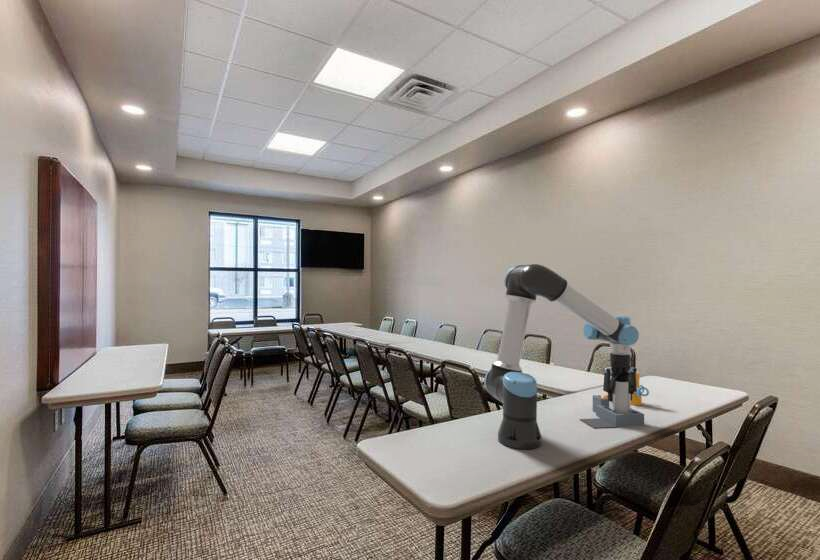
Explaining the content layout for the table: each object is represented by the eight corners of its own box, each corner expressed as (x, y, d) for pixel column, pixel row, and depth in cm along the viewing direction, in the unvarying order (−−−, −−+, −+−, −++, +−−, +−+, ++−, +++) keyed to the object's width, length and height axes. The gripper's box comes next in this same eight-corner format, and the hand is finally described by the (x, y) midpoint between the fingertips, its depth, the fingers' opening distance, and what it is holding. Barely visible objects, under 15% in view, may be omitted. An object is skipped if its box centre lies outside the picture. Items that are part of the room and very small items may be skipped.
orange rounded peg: (603, 412, 174) (603, 396, 174) (599, 410, 177) (599, 394, 177) (611, 412, 174) (611, 396, 174) (606, 410, 178) (606, 394, 178)
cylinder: (651, 408, 183) (651, 375, 184) (626, 406, 185) (627, 374, 186) (641, 400, 195) (641, 370, 195) (618, 399, 197) (618, 369, 198)
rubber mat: (593, 428, 156) (593, 427, 156) (579, 419, 166) (579, 418, 166) (617, 427, 158) (617, 426, 158) (601, 419, 167) (601, 418, 167)
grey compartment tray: (615, 426, 159) (615, 408, 159) (588, 411, 178) (588, 395, 178) (644, 425, 161) (644, 407, 161) (613, 410, 180) (613, 394, 180)
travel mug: (628, 424, 162) (628, 374, 162) (610, 421, 165) (610, 372, 165) (629, 419, 167) (629, 372, 167) (611, 416, 170) (612, 370, 171)
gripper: (604, 355, 161) (604, 412, 161) (647, 354, 164) (647, 411, 164) (593, 352, 169) (593, 406, 168) (634, 351, 171) (634, 405, 171)
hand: (619, 408), depth 166 cm, fingers closed on travel mug, 6 cm apart
